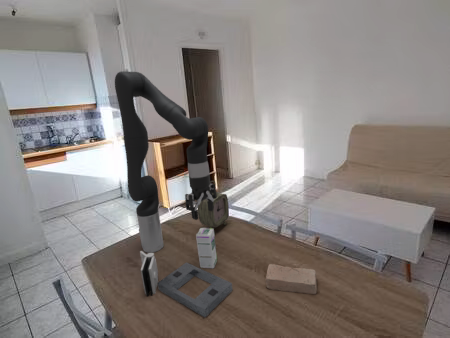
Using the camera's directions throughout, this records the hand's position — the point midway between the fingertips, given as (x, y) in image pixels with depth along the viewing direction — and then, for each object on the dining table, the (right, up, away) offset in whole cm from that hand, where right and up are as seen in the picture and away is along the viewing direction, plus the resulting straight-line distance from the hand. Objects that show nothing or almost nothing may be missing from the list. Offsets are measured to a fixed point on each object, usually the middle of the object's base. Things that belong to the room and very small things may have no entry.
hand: (203, 214), depth 102 cm
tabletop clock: (+3, -13, +34) cm, 36 cm away
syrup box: (+2, -21, +6) cm, 22 cm away
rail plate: (-2, -25, -8) cm, 26 cm away
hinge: (-19, -25, -3) cm, 32 cm away
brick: (+31, -23, -9) cm, 39 cm away
